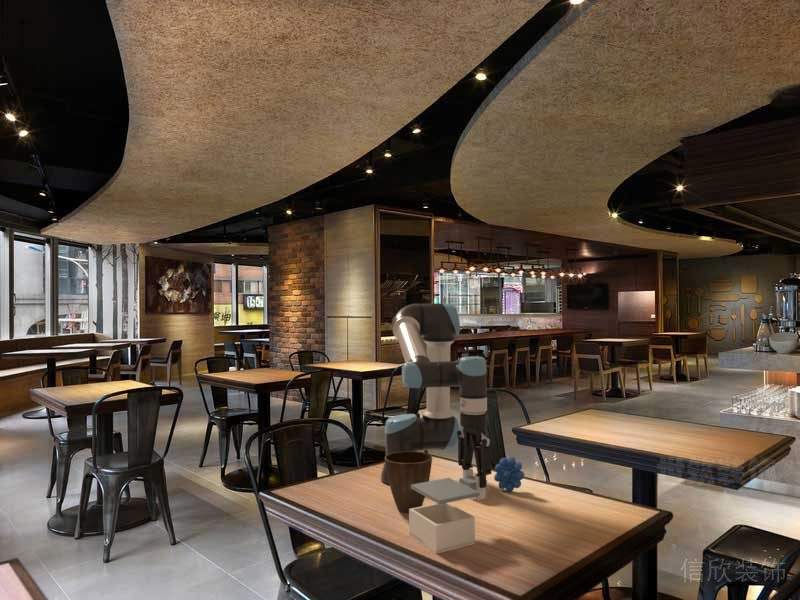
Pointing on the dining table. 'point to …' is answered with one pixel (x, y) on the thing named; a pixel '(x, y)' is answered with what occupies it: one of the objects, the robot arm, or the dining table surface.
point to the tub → (442, 527)
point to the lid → (448, 489)
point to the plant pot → (407, 477)
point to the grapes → (509, 474)
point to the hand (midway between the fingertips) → (474, 495)
